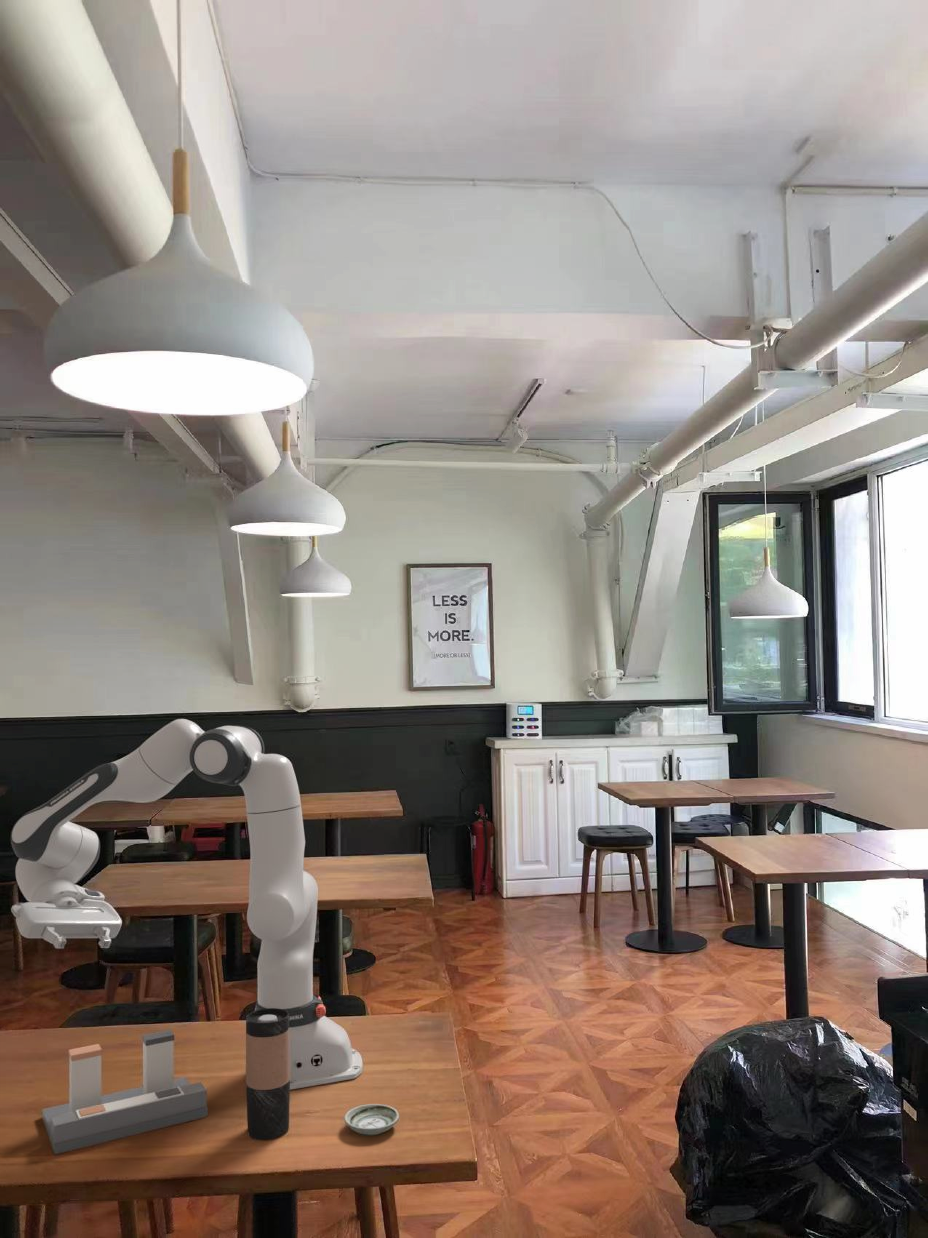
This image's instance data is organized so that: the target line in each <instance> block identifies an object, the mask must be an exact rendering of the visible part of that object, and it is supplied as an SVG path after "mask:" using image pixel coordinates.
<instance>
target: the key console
mask: <svg viewBox="0 0 928 1238" xmlns="http://www.w3.org/2000/svg"><path fill="white" fill-rule="evenodd" d="M207 1091H208V1090H207V1088H206V1087H205V1086H204V1085H203V1083H202V1082H196V1083H190V1081H189V1080H188V1078H187V1077H186V1076H183V1077H179V1078H174V1088H171V1089H166V1090H162V1091H158V1092H153V1093H149V1094H145V1095H143V1086H138V1087H135V1088H129V1089H126V1090H125V1089H124V1090H121V1091H116V1092H113V1093H108V1094H104V1095H101V1105H97V1106H92V1107H88V1108H84V1109H79V1110H76V1111H74V1112H69V1102H68V1103H64V1104H58V1105H54V1106H50V1107H45V1108H43V1109H42V1111H41V1113H42V1116H41V1117H42V1121H43V1123H44V1126H45V1129H46V1132H47V1135H48V1139H49V1141H50V1145H51V1148H52V1150H53V1154H54V1155H58V1154H62V1153H66V1152H70V1151H74V1150H78V1149H82V1148H86V1147H90V1146H95V1145H98V1144H102V1143H106V1142H110V1141H115V1140H119V1139H122V1138H127V1137H130V1136H135V1135H139V1134H143V1133H147V1132H150V1131H154V1130H159V1129H163V1128H166V1127H171V1126H175V1125H179V1124H183V1123H186V1122H190V1121H195V1120H198V1119H203V1118H207V1117H208V1116H209V1115H208V1114H209V1113H208V1112H209V1109H208V1105H207V1104H208V1103H207V1102H208V1100H207V1099H208V1092H207Z"/></svg>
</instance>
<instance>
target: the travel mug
mask: <svg viewBox="0 0 928 1238" xmlns="http://www.w3.org/2000/svg"><path fill="white" fill-rule="evenodd" d="M245 1093H246V1097H245V1098H246V1117H247V1118H246V1119H247V1120H246V1121H247V1134H248V1136H249V1137H250V1138H252V1139H255V1140H257V1141H271V1140H275V1139H278V1138H280V1137H283V1136H285V1134H287V1133H288V1131H289V1129H290V1103H291V1102H290V1095H291V1090H290V1053H289V1014H288V1012H287V1011H285V1010H282V1009H277V1008H268V1009H261V1010H257V1011H255V1010H254V1011H252V1012H249V1013H248V1014H247V1015H246V1017H245Z"/></svg>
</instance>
